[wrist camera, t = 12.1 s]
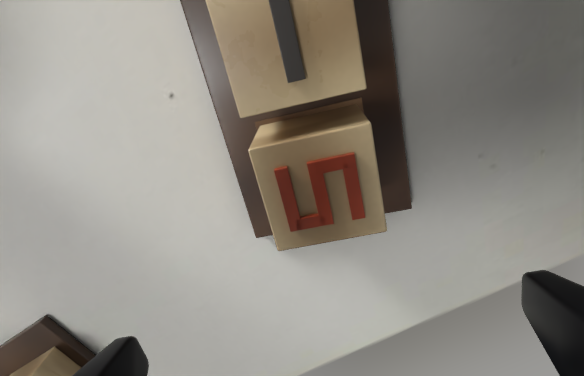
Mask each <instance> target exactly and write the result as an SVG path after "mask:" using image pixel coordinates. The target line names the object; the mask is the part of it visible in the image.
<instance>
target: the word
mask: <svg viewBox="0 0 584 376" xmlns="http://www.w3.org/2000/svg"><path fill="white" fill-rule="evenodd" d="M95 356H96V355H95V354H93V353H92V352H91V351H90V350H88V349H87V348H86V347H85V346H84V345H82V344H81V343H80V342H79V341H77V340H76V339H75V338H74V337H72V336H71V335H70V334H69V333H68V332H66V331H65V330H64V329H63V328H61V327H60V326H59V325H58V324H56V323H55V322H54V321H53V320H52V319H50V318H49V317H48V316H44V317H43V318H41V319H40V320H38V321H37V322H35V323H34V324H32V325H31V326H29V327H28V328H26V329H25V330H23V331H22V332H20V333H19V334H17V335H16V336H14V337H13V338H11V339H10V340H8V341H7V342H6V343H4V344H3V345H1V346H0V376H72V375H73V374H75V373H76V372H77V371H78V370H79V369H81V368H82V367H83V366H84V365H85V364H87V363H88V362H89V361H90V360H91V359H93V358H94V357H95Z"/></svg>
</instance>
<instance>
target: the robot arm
mask: <svg viewBox="0 0 584 376" xmlns="http://www.w3.org/2000/svg"><path fill="white" fill-rule="evenodd" d="M522 307H523V311H524V313H525V315H526V317H527V318H528V320H529V322H530V324H531V326H532V327H533V329H534V331H535V333H536V334H537V336H538V338H539V340H540V341H541V343H542V345H543V347H544V348H545V350H546V352H547V354H548V356H549V357H550V359H551V361H552V363H553V364H554V366H555V368H556V370H557V371H558V373H559V375H560V376H584V286H581V285H579V284H577V283H574V282H572V281H570V280H567V279H565V278H563V277H560V276H558V275H556V274H554V273H551V272H549V271H546V270H539V271H533V272H527V273H525V274H524V275H523V277H522ZM148 367H149V364H148V359H147V357H146V355H145V353H144V351H143V350H142V348H141V346H140V344H139V342H138V340H137V339H136V338H135V337H133V336H128V337H122V338H118V339H116V340H114V341H113V342H112V343H111V344H109V345H108V346H107V347H106V348H105V349H103V350H102V351H101V352H100V353H99V354H97V355H96V356H95V357H94V358H93V359H91V360H90V361H89V362H88V363H87V364H85V365H84V366H83V367H82V368H81V369H79V370H78V371H77V372H76V373H75V374H73V375H72V376H147V373H148Z"/></svg>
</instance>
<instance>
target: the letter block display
mask: <svg viewBox="0 0 584 376" xmlns="http://www.w3.org/2000/svg"><path fill="white" fill-rule="evenodd" d="M180 1H181V4H182V7H183V11H184V14H185V17H186V20H187V23H188V26H189V29H190V32H191V36H192V39H193V42H194V45H195V48H196V51H197V54H198V57H199V61H200V64H201V67H202V70H203V73H204V76H205V79H206V82H207V86H208V89H209V92H210V95H211V98H212V101H213V104H214V107H215V111H216V114H217V117H218V120H219V123H220V126H221V129H222V132H223V136H224V139H225V142H226V145H227V148H228V151H229V154H230V158H231V161H232V164H233V167H234V170H235V173H236V176H237V179H238V183H239V186H240V189H241V192H242V195H243V198H244V201H245V204H246V208H247V211H248V214H249V217H250V220H251V223H252V226H253V229H254V233H255V236H256V238H259V237H264V236H269V235H273V233H272V229H271V226H270V223H269V219H268V216H267V212H266V209H265V206H264V202H263V199H262V196H261V192H260V189H259V185H258V182H257V179H256V175H255V172H254V168H253V165H252V162H251V158H250V155H249V152H248V150H249V147H250V145H251V143H252V141H253V139H254V137H255V135H256V133H257V131H258V129H259V127H260V126H261V125H266V124H270V123H275V122H279V121H283V120H288V119H292V118H297V117H301V116H305V115H310V114H314V113H319V112H323V111H327V110H332V109H336V108H341V107H345V106H349V105H354V104H357V105H358V107H359V108H360V109H361V111H362V112H363V113H364V115H365V116H366V117H367V119H368V120H369V121H370V123H371V125H372V132H373V139H374V145H375V152H376V159H377V166H378V172H379V179H380V186H381V193H382V199H383V206H384V213H390V212H396V211H401V210H406V209H411V208H412V205H411V196H410V187H409V179H408V170H407V161H406V153H405V144H404V135H403V127H402V118H401V109H400V101H399V92H398V83H397V75H396V66H395V58H394V49H393V40H392V32H391V23H390V14H389V6H388V0H180Z"/></svg>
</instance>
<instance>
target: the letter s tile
mask: <svg viewBox="0 0 584 376" xmlns="http://www.w3.org/2000/svg"><path fill="white" fill-rule="evenodd" d="M248 152H249V155H250V158H251V162H252V165H253V168H254V172H255V175H256V179H257V182H258V185H259V189H260V192H261V196H262V199H263V202H264V206H265V209H266V212H267V216H268V219H269V223H270V226H271V229H272V233H273V236H274V240H275V243H276V246H277V250H278V251H282V250H288V249H293V248H299V247H304V246H310V245H315V244H321V243H326V242H331V241H337V240H342V239H348V238H353V237H359V236H364V235H370V234H375V233H381V232H386V231H387V226H386V219H385V213H384V206H383V199H382V193H381V186H380V179H379V172H378V166H377V159H376V152H375V145H374V139H373V132H372V125H371V123H370V121H369V120H368V119H367V117H366V116H365V115H364V113H363V112H362V111H361V109H360V108H359V107H358V105H357V104H354V105H349V106H345V107H341V108H336V109H332V110H327V111H323V112H319V113H314V114H310V115H305V116H301V117H297V118H292V119H288V120H283V121H279V122H275V123H270V124H266V125H261V126H260V127H259V129H258V131H257V133H256V135H255V137H254V139H253V141H252V143H251V145H250V147H249V150H248Z"/></svg>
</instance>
